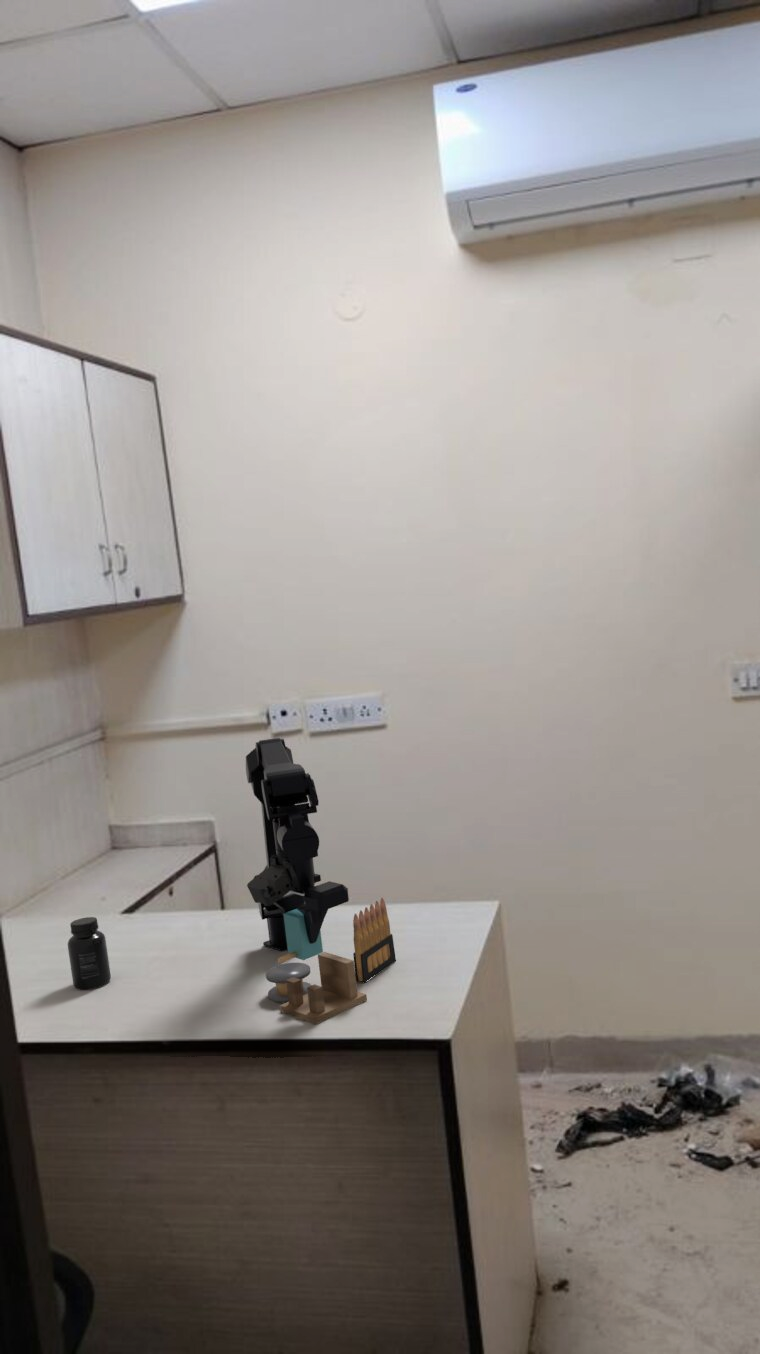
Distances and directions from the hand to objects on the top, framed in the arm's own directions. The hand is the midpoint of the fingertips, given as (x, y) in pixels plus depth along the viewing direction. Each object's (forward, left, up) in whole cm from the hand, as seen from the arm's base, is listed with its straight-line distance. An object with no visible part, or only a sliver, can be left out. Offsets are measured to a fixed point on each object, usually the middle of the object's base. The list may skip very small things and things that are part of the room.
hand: (304, 940), depth 167 cm
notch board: (0, +2, -12) cm, 12 cm away
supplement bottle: (-46, -16, -12) cm, 50 cm away
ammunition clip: (-3, +17, -12) cm, 21 cm away
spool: (-9, +2, -12) cm, 15 cm away
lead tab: (0, -2, -2) cm, 3 cm away
